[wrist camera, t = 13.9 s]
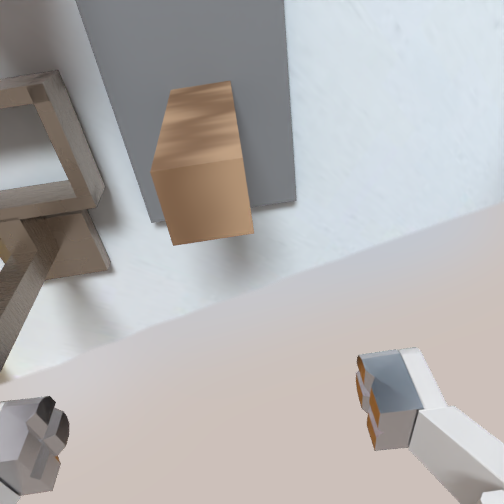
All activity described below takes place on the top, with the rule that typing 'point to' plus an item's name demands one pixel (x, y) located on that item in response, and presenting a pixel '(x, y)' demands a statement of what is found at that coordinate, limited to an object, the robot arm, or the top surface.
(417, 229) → the top surface
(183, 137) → the walnut link block
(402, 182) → the top surface
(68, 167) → the ring stand
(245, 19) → the mat
